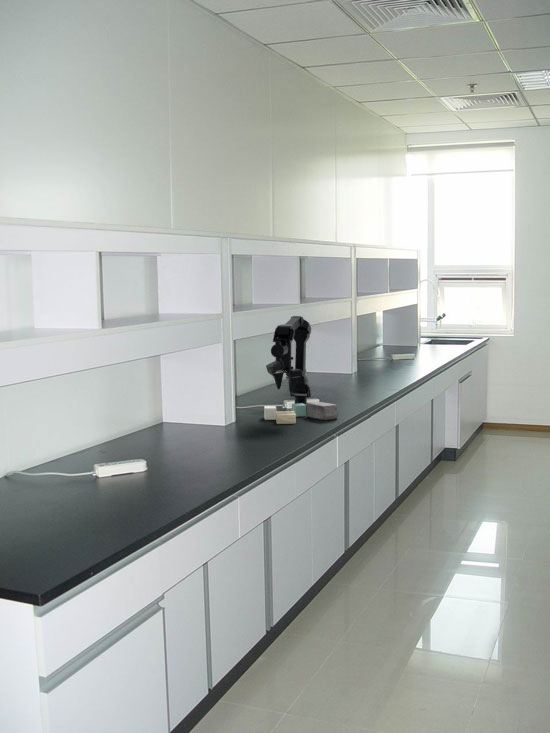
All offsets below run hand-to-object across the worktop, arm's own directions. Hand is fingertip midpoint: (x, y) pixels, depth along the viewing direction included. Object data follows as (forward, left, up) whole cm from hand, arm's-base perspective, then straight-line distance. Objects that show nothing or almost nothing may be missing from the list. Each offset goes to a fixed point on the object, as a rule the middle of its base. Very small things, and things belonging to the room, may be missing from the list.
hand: (284, 390), depth 348 cm
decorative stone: (-3, +16, -13) cm, 21 cm away
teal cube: (-10, +7, -13) cm, 18 cm away
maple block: (+4, 0, -13) cm, 14 cm away
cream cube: (-4, -6, -13) cm, 15 cm away
